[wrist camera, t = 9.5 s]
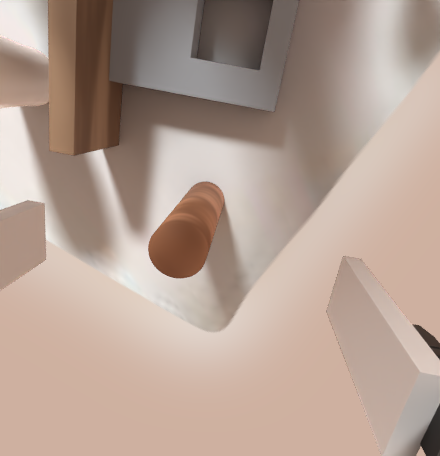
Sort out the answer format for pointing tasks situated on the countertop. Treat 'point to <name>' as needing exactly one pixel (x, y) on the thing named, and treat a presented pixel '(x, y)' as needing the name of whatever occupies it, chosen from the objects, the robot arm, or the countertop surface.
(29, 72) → the drinking glass
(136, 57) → the holed block
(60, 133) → the backstop board
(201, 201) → the dowel
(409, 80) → the countertop surface
